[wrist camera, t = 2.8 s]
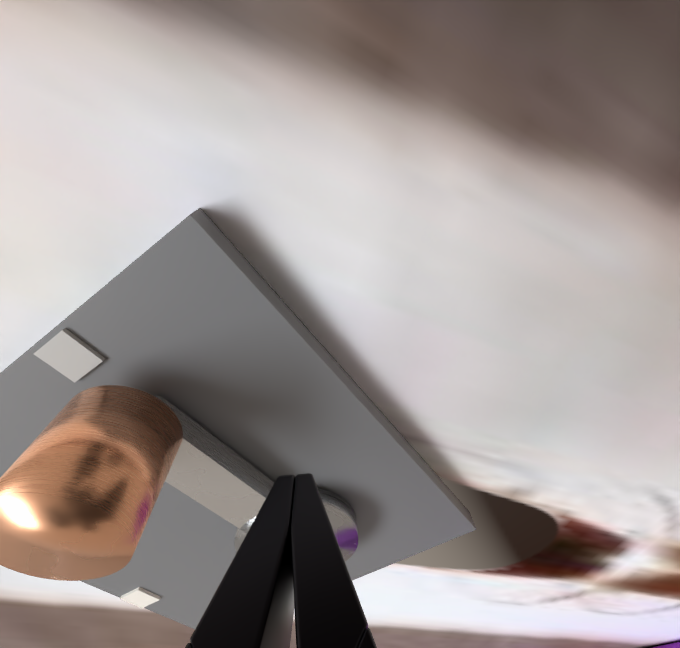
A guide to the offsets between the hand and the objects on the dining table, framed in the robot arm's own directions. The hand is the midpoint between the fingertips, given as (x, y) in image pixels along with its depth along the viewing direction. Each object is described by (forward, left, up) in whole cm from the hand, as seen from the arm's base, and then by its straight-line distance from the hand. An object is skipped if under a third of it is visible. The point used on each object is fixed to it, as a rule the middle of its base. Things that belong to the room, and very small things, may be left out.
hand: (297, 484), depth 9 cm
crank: (+7, +3, -5) cm, 9 cm away
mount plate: (+10, +4, -6) cm, 12 cm away
